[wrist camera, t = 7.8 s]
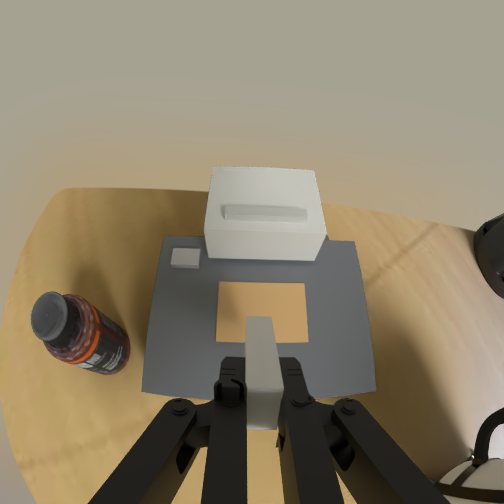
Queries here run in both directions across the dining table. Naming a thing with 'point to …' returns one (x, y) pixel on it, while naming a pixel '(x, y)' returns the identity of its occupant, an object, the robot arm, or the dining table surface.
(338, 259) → the gray box
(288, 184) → the hatch door
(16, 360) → the dining table surface
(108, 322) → the supplement bottle
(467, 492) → the coffee press
